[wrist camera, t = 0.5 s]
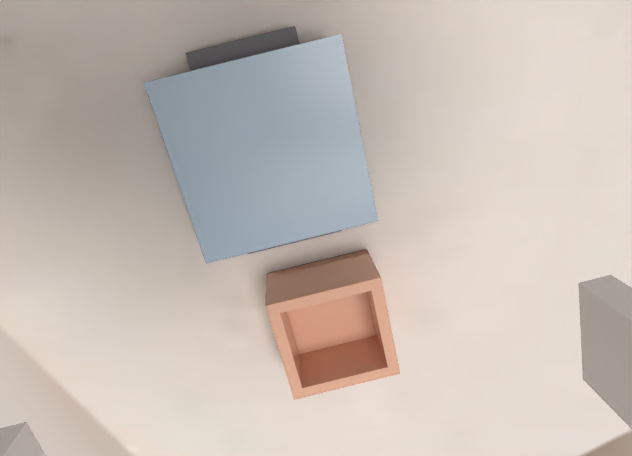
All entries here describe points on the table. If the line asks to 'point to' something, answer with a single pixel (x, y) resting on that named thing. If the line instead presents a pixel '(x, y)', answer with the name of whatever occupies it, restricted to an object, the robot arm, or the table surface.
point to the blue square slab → (266, 148)
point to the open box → (331, 324)
